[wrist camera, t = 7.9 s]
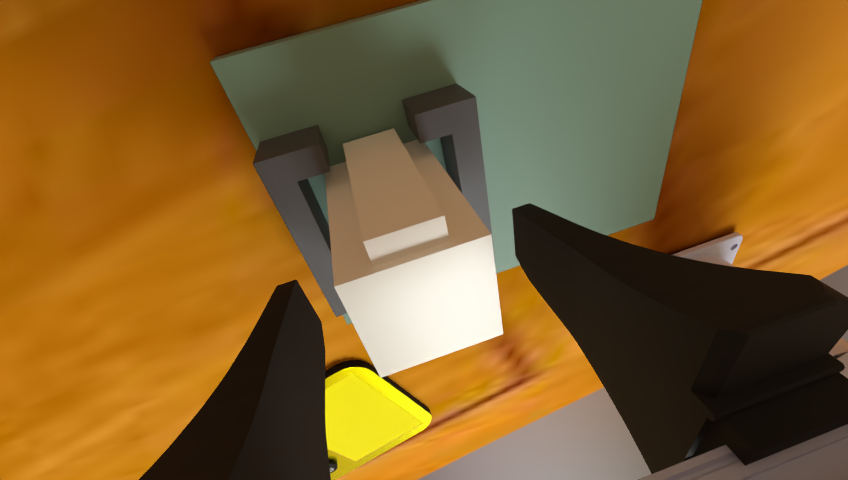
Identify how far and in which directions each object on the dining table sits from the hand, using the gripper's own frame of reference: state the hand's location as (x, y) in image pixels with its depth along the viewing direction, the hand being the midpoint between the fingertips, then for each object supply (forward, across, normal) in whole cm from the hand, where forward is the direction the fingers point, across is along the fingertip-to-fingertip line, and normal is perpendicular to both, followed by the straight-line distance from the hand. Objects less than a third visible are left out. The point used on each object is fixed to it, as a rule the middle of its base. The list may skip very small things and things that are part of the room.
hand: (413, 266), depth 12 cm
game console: (+7, +12, +18) cm, 22 cm away
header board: (+6, -5, 0) cm, 8 cm away
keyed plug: (+5, 0, 0) cm, 5 cm away
